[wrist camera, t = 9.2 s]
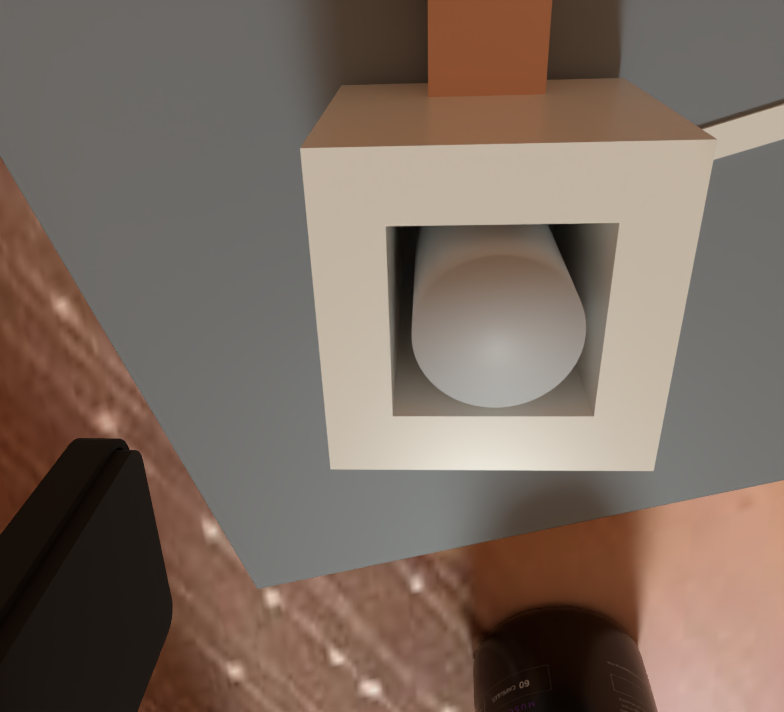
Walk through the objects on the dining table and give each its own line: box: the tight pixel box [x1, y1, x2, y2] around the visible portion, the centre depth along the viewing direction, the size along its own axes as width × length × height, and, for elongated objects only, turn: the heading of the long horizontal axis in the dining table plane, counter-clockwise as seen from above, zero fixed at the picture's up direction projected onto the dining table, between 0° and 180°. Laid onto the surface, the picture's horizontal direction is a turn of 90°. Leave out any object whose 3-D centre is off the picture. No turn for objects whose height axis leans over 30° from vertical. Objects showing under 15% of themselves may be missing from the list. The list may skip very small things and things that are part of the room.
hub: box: [300, 0, 717, 471], centre depth 14 cm, size 11×6×6 cm, turn 2°
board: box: [0, 0, 784, 589], centre depth 16 cm, size 22×22×9 cm
